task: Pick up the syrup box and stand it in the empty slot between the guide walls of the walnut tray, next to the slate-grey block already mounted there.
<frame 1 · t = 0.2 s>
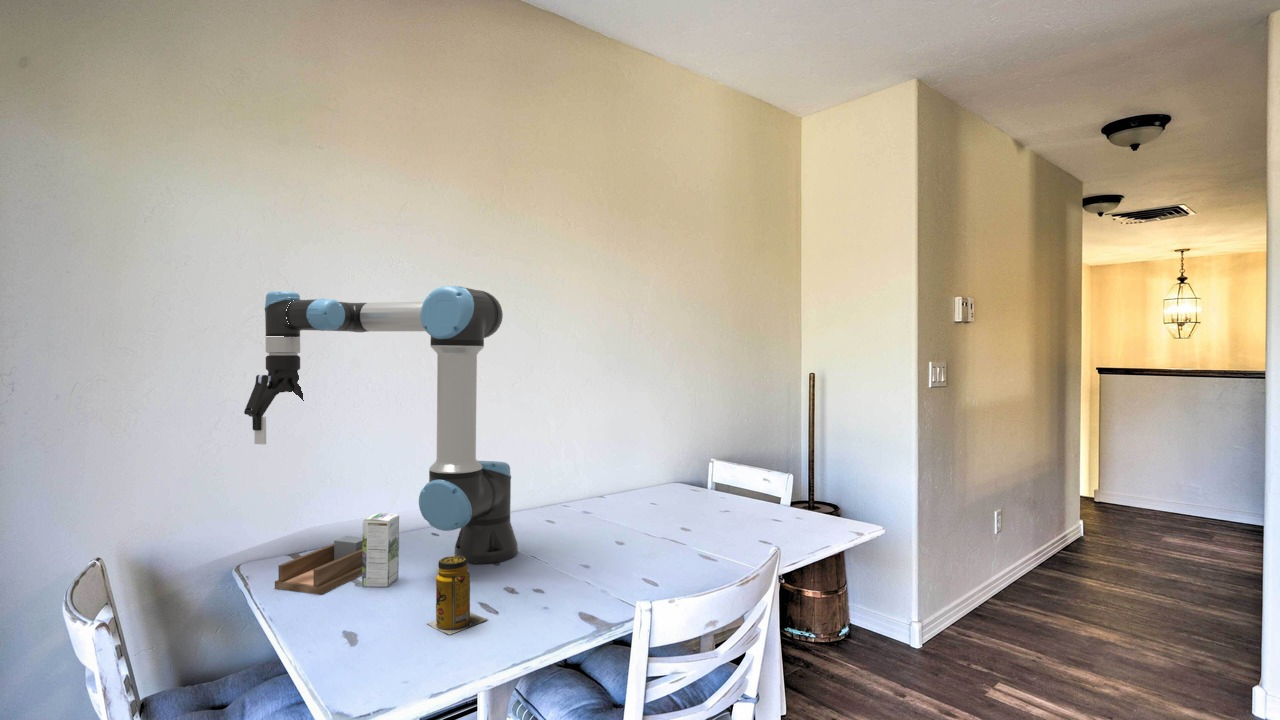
hand: (283, 440, 160), 28 cm above the table, fingers open, 13 cm apart
slate block: (351, 560, 150), resting on walnut tray
syrup box: (380, 583, 140), on the table
walnut tray: (331, 576, 144), on the table
condiment: (457, 623, 120), on the table
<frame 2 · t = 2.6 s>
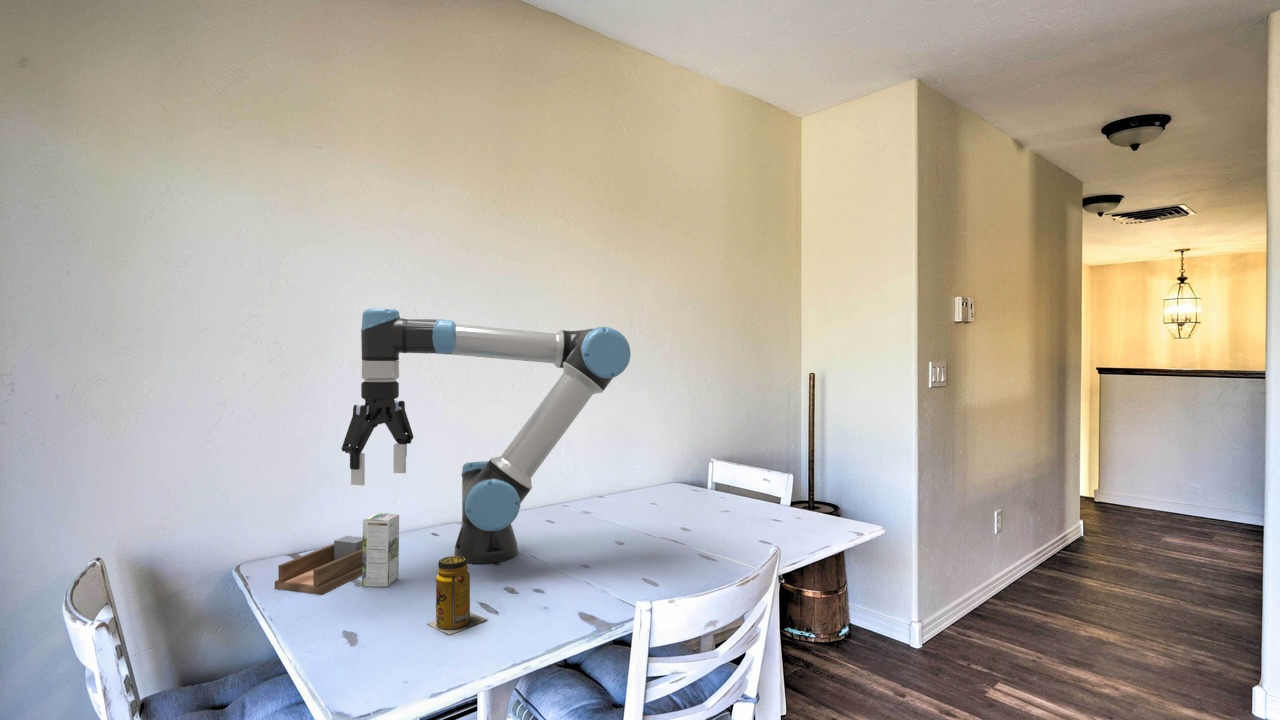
hand: (379, 478, 140), 23 cm above the table, fingers open, 13 cm apart
nothing on the table moved.
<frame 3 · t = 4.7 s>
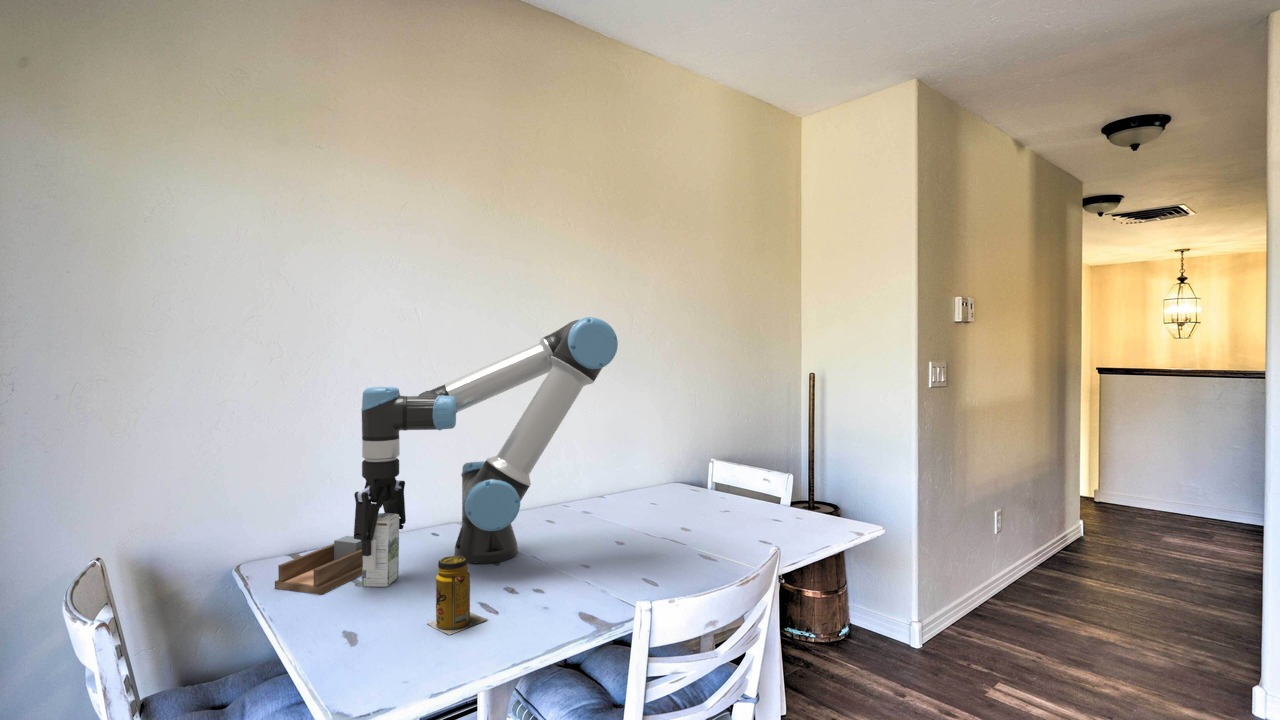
hand: (380, 564, 140), 4 cm above the table, fingers closed on syrup box, 7 cm apart
syrup box: (380, 583, 140), on the table, touching gripper
everything else where it was.
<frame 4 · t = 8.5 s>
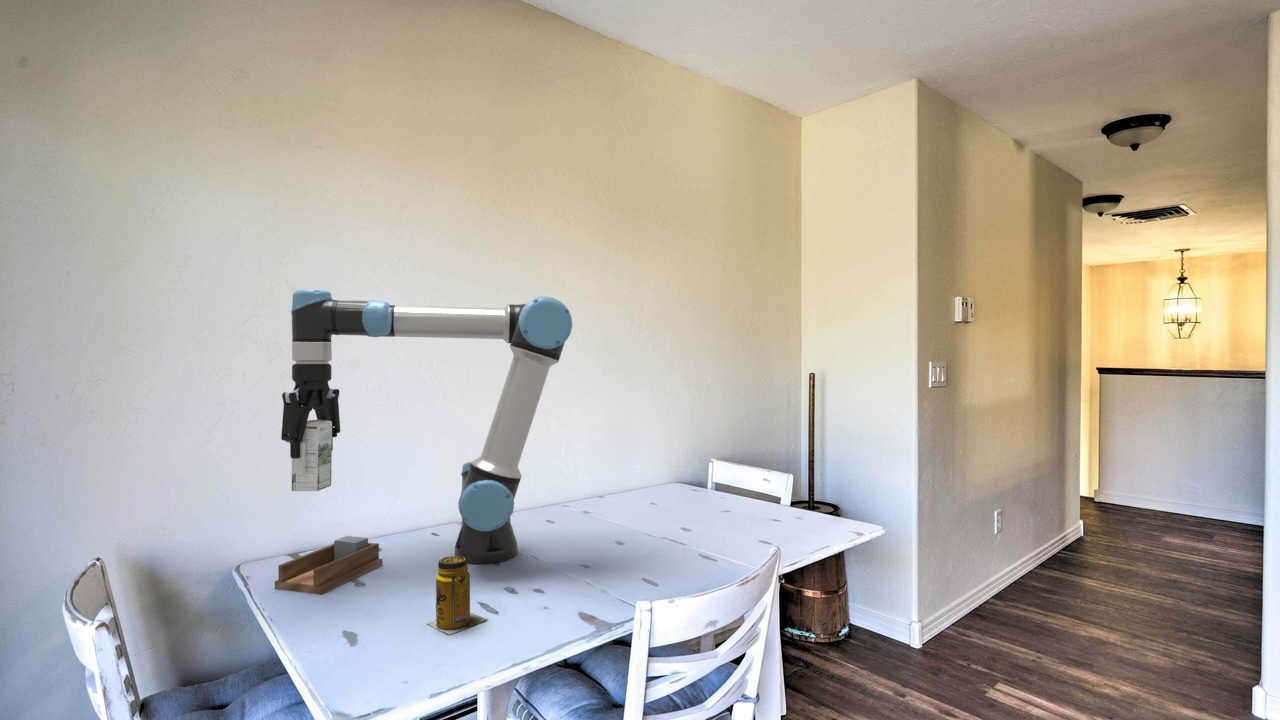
hand: (312, 470, 138), 25 cm above the table, fingers closed on syrup box, 7 cm apart
syrup box: (312, 489, 138), point 20 cm above the table, touching gripper
everything else where it was.
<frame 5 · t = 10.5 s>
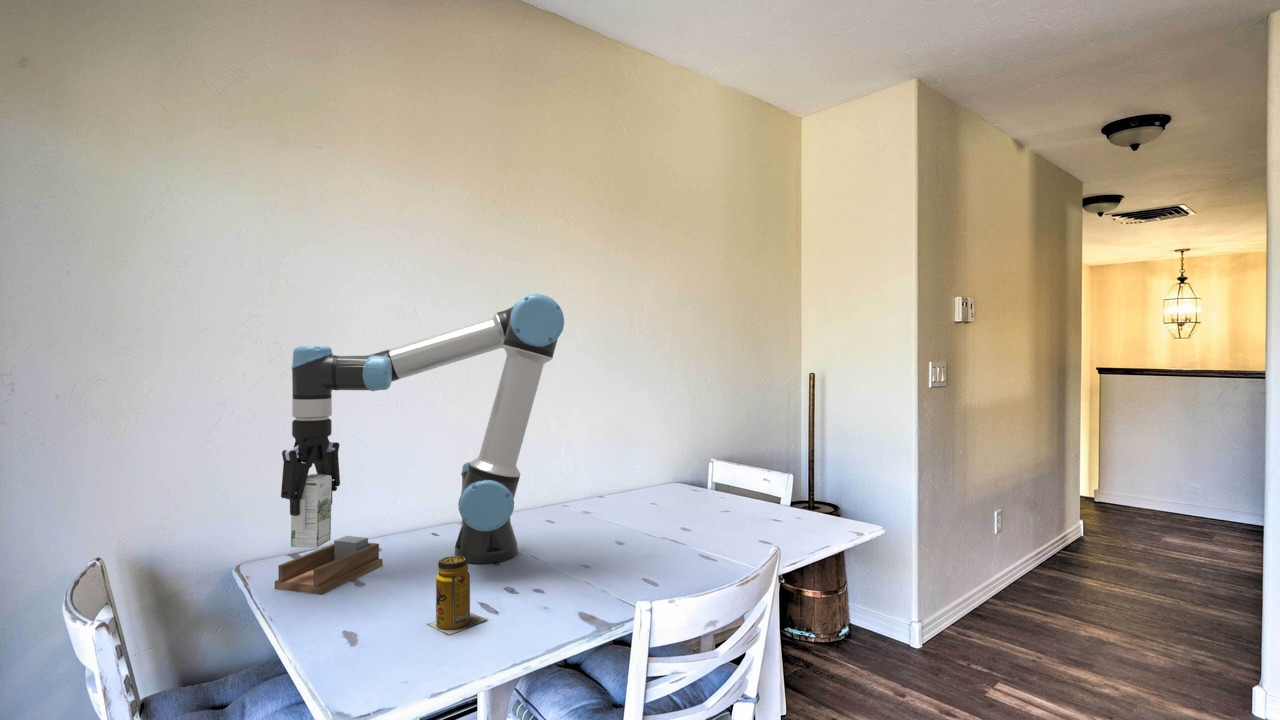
hand: (311, 525, 138), 13 cm above the table, fingers closed on syrup box, 7 cm apart
syrup box: (311, 544, 139), point 9 cm above the table, touching gripper
everything else where it was.
when the fingers open (6 cm above the table, at t = 12.2 s): syrup box stays where it is, resting on walnut tray.
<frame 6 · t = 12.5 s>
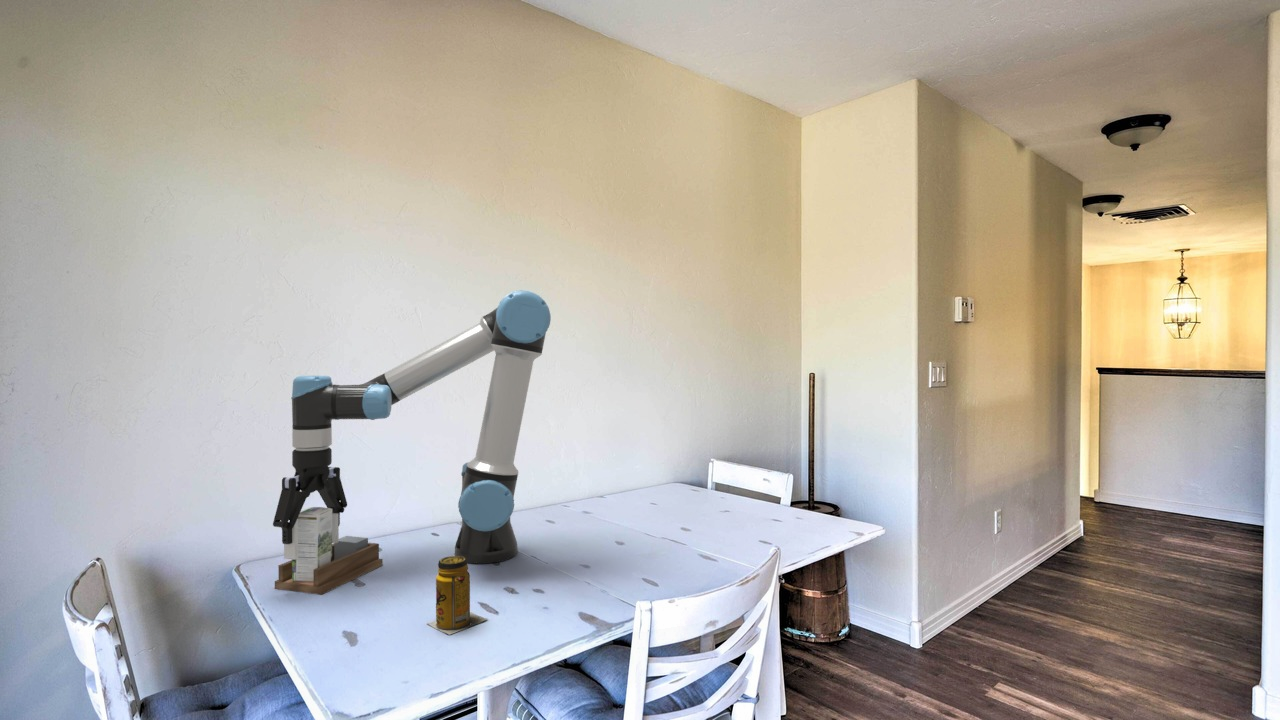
hand: (312, 550, 139), 7 cm above the table, fingers open, 11 cm apart
syrup box: (312, 578, 139), point 1 cm above the table, touching walnut tray
everything else where it was.
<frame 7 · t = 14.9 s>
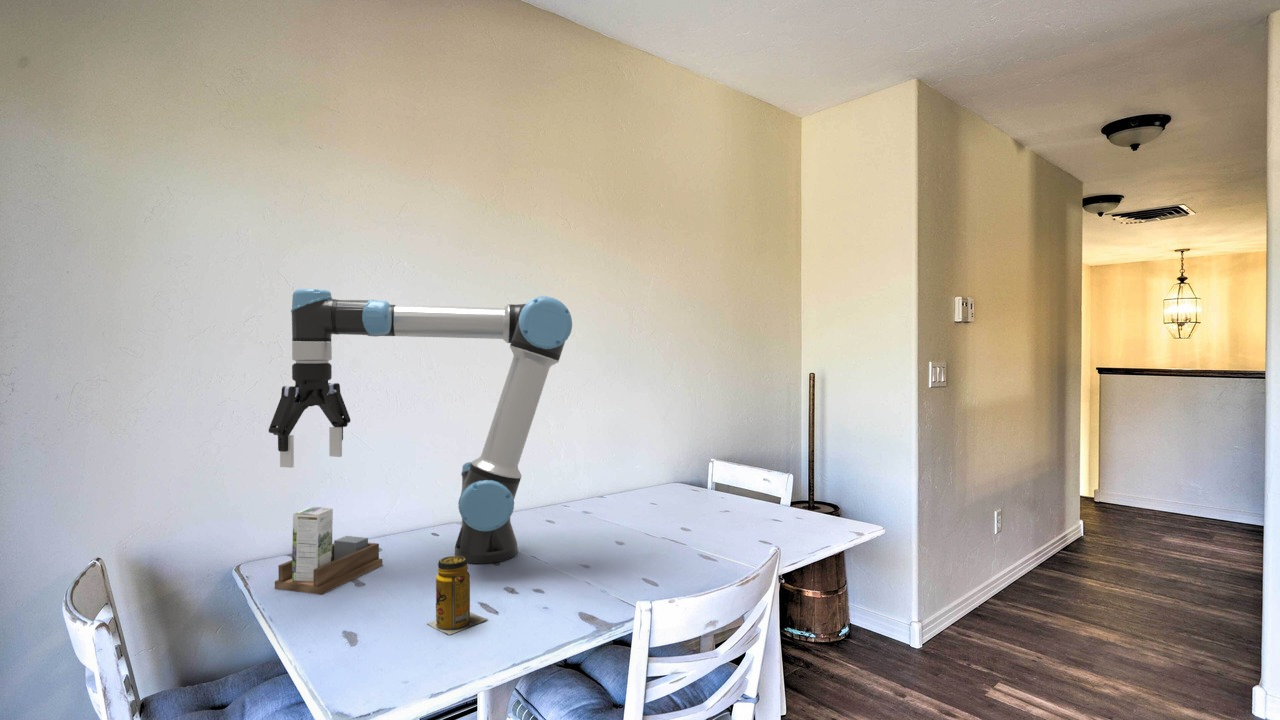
hand: (312, 461, 138), 27 cm above the table, fingers open, 13 cm apart
nothing on the table moved.
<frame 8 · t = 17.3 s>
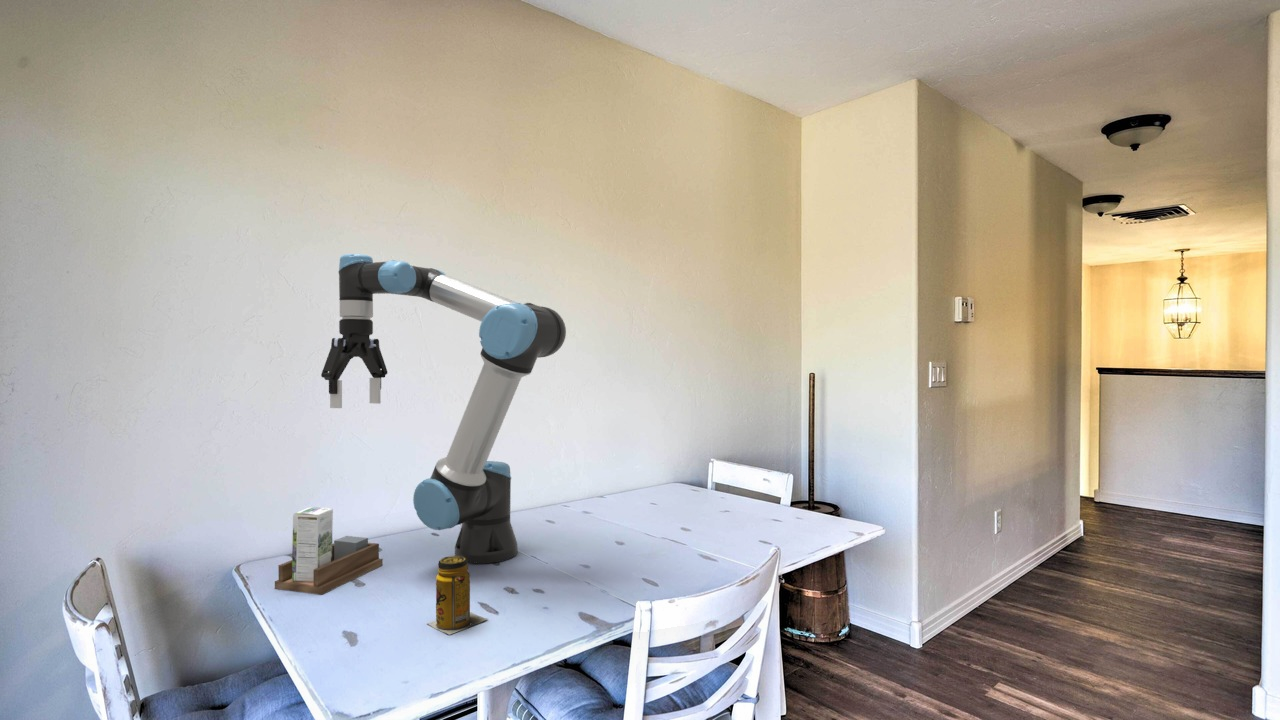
hand: (356, 405, 158), 37 cm above the table, fingers open, 13 cm apart
nothing on the table moved.
at the end: syrup box 0.1 cm from the target spot, point 1.4 cm above the table; syrup box tilted 0°; the gripper is holding nothing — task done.
